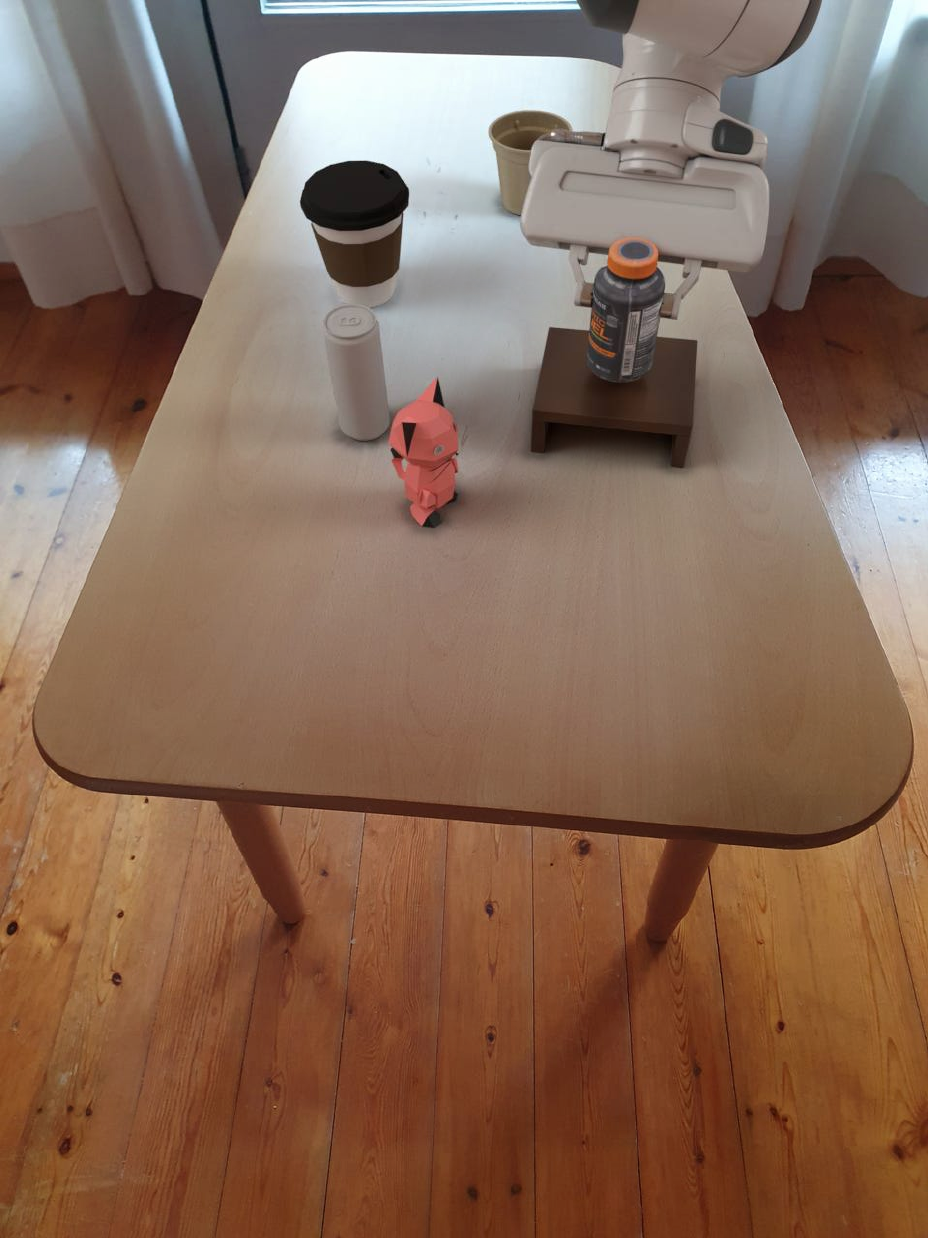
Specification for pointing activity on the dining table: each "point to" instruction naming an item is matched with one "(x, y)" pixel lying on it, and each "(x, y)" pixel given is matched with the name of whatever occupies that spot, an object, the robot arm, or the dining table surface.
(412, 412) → the cat figurine
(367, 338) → the beverage can
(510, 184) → the flower pot
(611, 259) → the pill bottle
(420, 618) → the dining table surface
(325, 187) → the coffee cup
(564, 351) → the shelf
